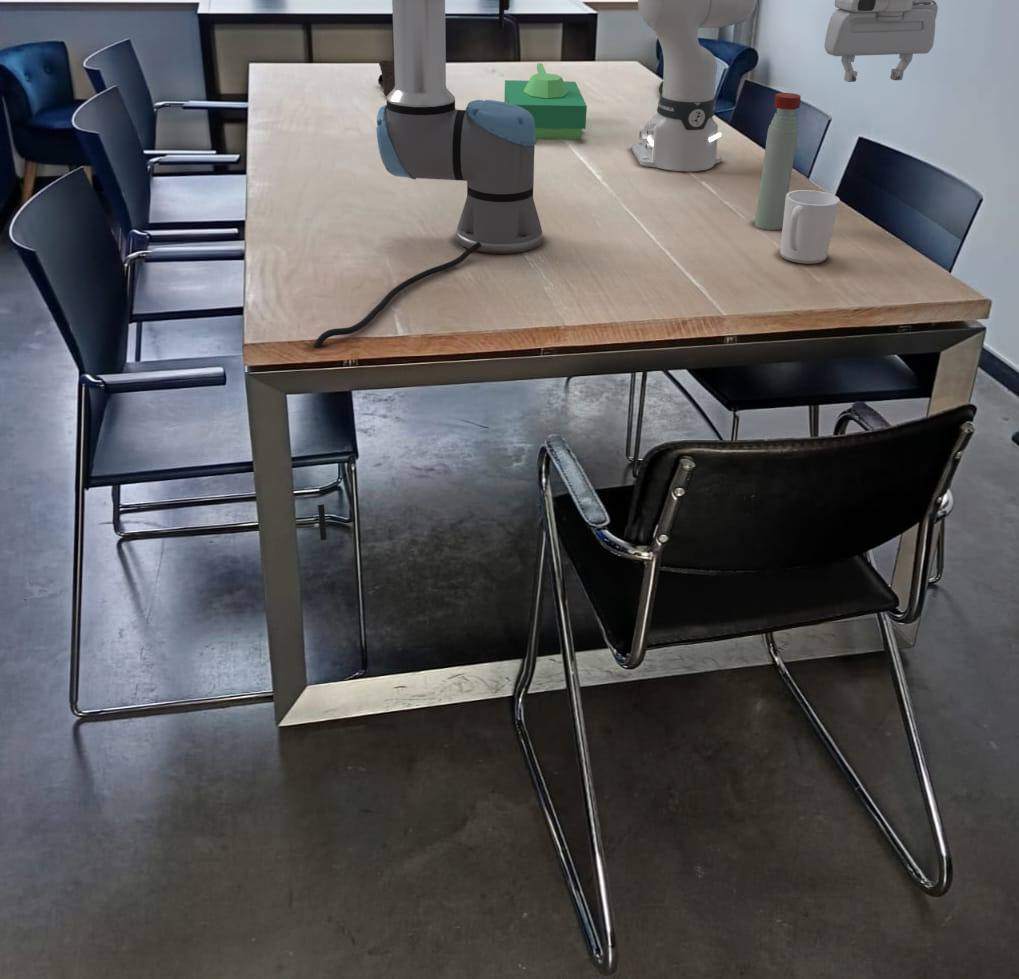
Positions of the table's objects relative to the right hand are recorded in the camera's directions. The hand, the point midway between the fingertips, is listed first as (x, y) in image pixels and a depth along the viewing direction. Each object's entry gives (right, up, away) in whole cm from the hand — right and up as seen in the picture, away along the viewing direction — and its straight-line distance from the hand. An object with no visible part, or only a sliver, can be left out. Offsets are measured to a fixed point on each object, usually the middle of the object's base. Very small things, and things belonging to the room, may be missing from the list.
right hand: (873, 80), depth 200 cm
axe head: (-96, +35, +100) cm, 143 cm away
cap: (-17, -5, -6) cm, 19 cm away
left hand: (-75, +20, +24) cm, 81 cm away
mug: (-16, -34, -9) cm, 39 cm away
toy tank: (-59, +15, +70) cm, 92 cm away
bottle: (-17, -25, +6) cm, 31 cm away
